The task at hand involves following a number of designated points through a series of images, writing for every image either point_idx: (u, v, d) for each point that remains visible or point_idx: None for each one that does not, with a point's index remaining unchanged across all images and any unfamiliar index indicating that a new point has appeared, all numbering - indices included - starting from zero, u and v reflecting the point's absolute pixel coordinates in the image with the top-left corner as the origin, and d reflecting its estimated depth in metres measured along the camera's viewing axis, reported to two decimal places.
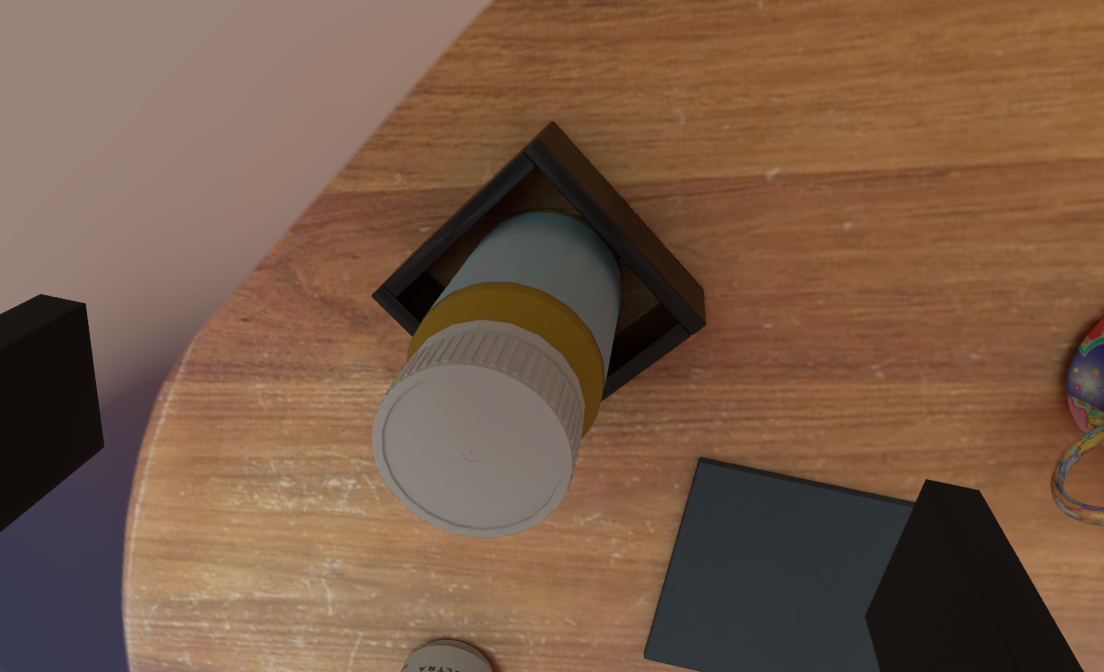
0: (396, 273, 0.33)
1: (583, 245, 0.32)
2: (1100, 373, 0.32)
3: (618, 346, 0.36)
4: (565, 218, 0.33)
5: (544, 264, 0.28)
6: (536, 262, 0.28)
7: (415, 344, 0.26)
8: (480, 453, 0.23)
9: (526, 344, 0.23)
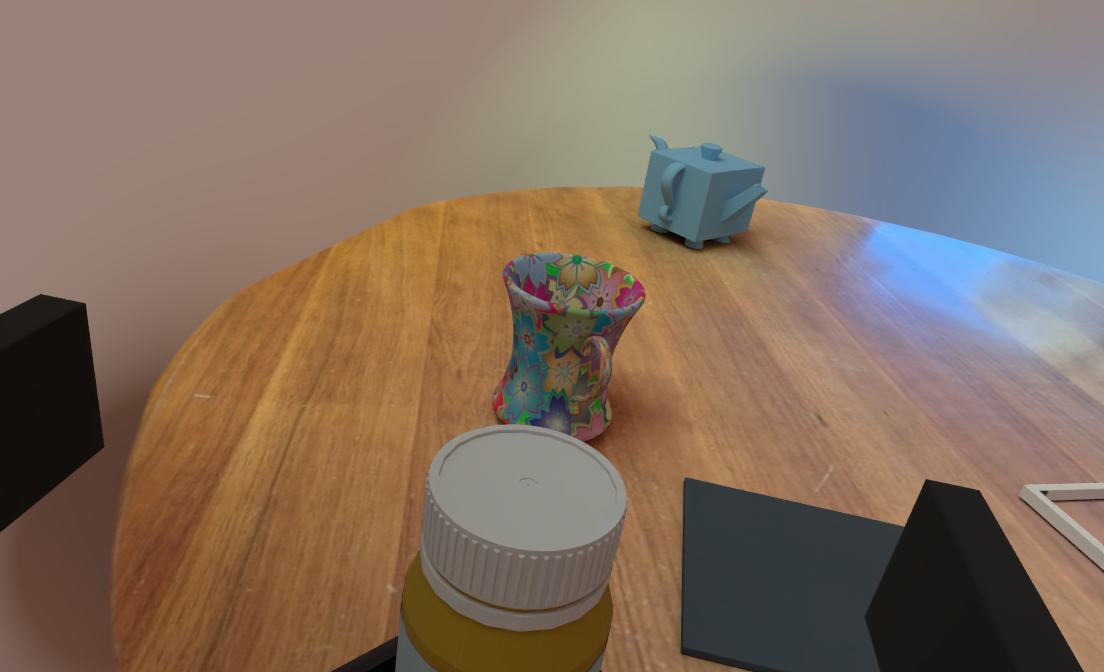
0: None
1: None
2: (548, 418, 0.50)
3: None
4: None
5: None
6: None
7: (453, 639, 0.23)
8: (528, 479, 0.24)
9: None
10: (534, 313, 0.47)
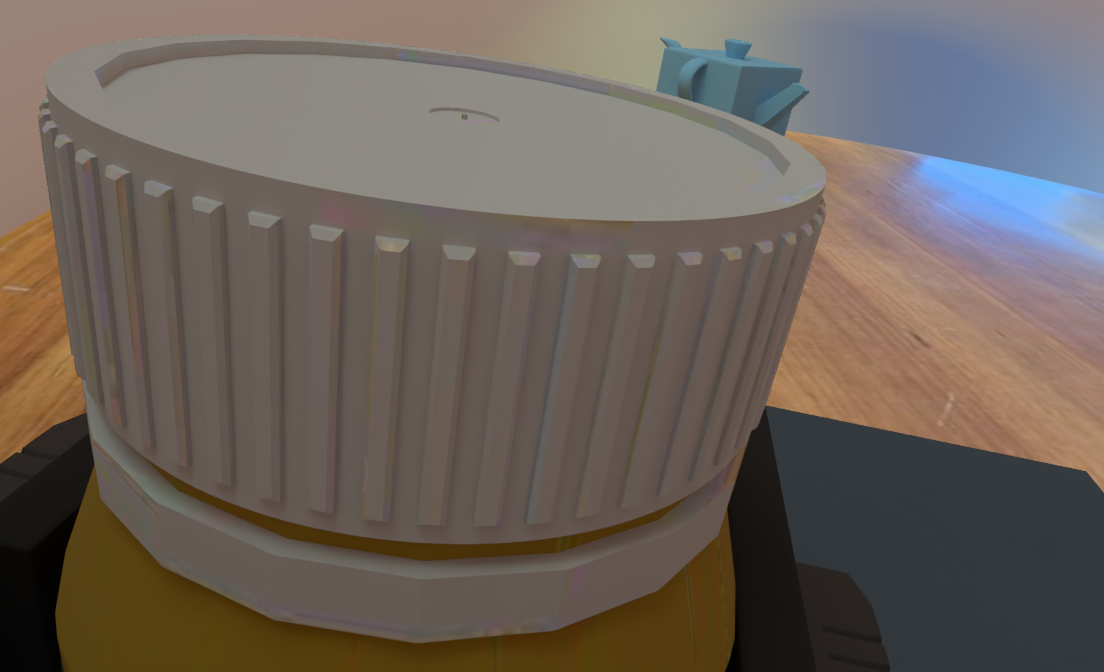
0: None
1: None
2: None
3: None
4: None
5: None
6: None
7: None
8: (466, 110, 0.07)
9: None
10: None
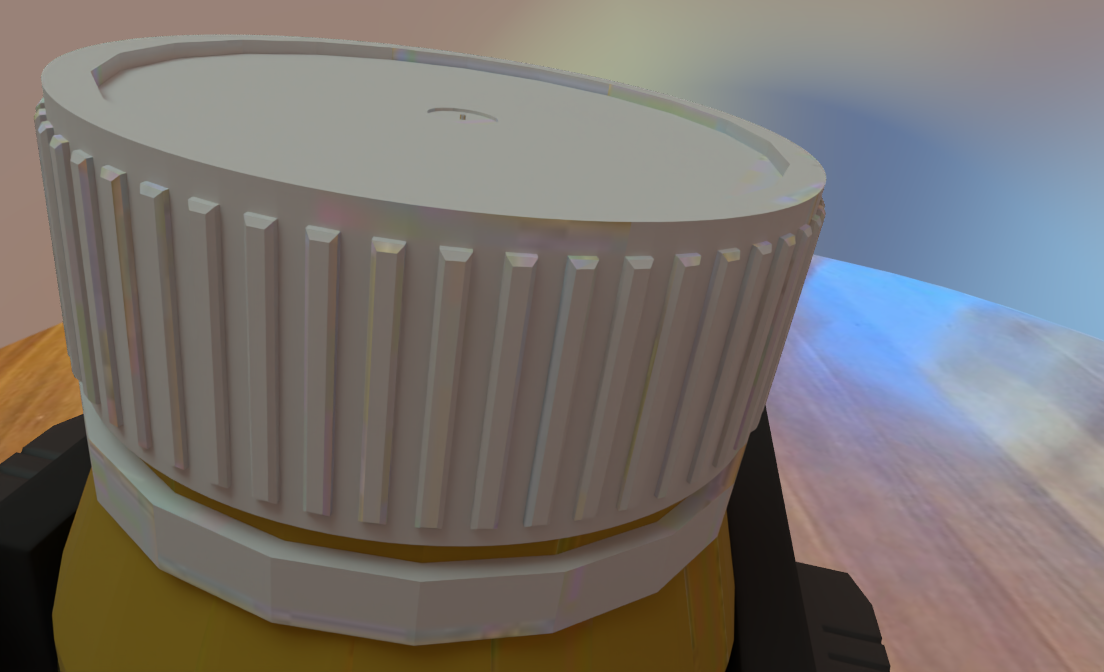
0: None
1: None
2: None
3: None
4: None
5: None
6: None
7: None
8: (464, 111, 0.07)
9: None
10: None
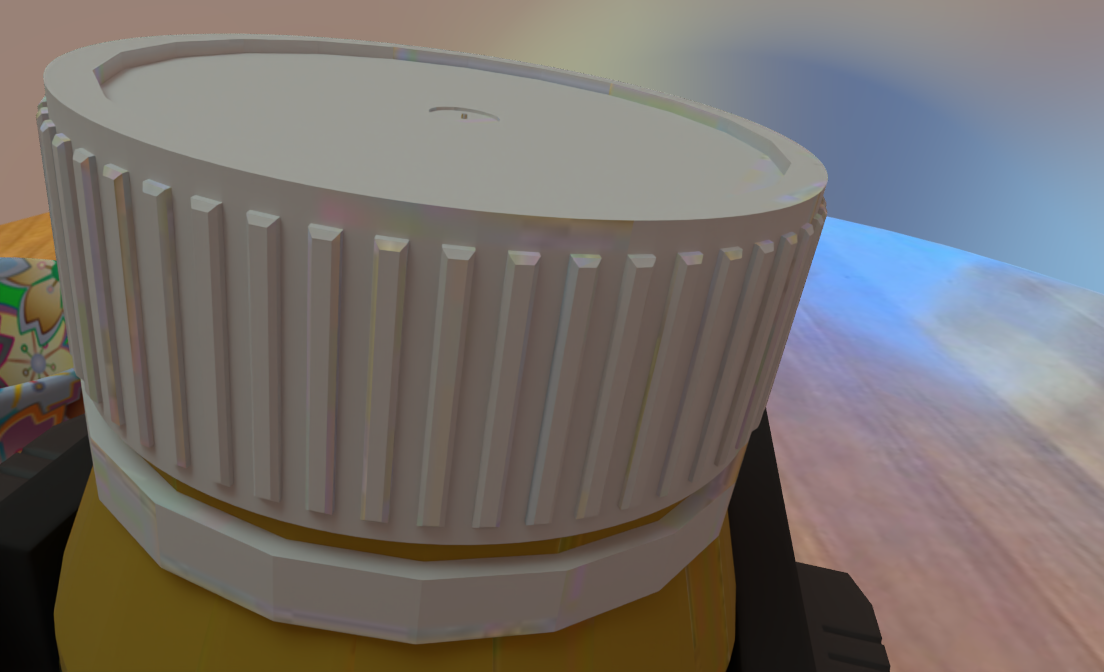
0: None
1: None
2: None
3: None
4: None
5: None
6: None
7: None
8: (466, 110, 0.07)
9: None
10: None
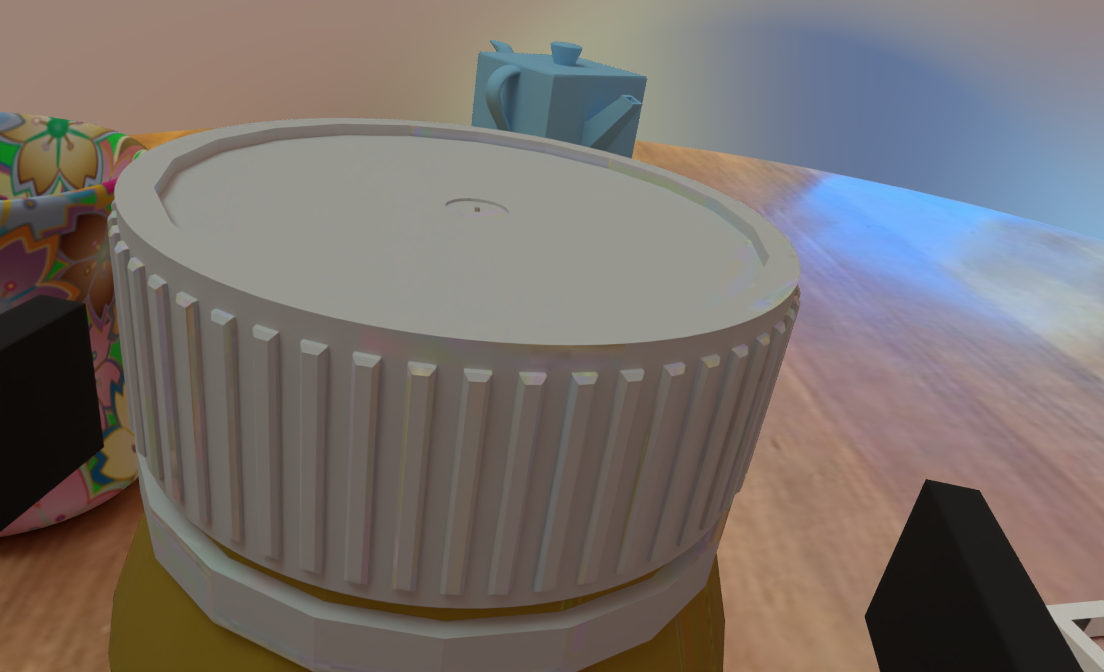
0: None
1: None
2: None
3: None
4: None
5: None
6: None
7: None
8: (478, 200, 0.08)
9: None
10: None
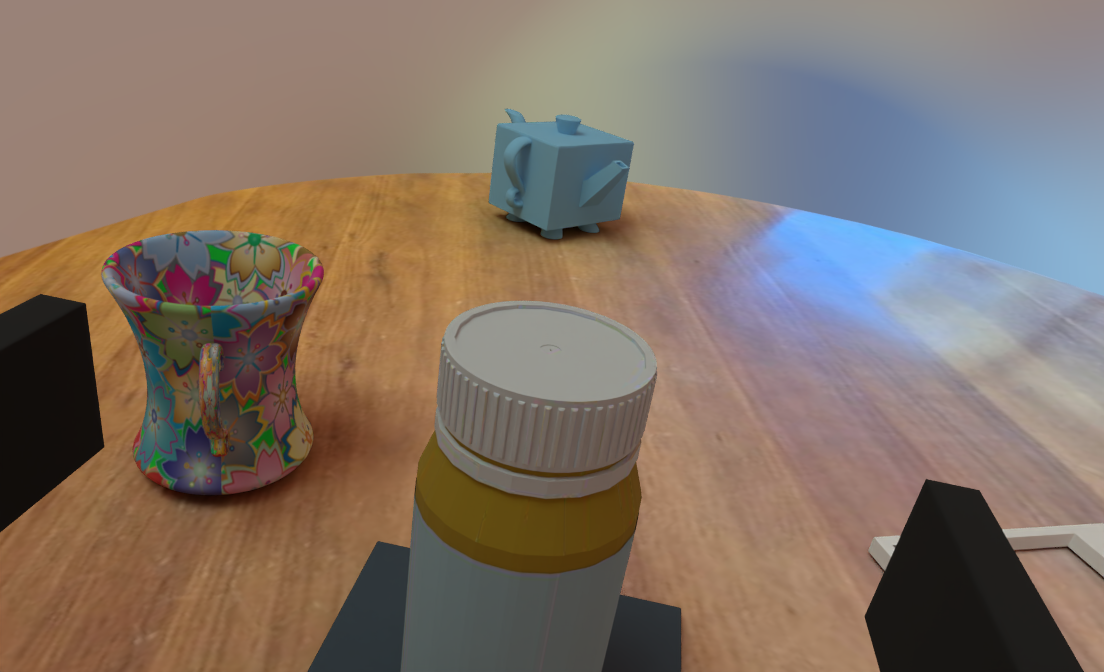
0: None
1: None
2: (186, 461, 0.36)
3: None
4: None
5: None
6: None
7: (473, 511, 0.21)
8: (550, 345, 0.22)
9: None
10: (128, 312, 0.33)
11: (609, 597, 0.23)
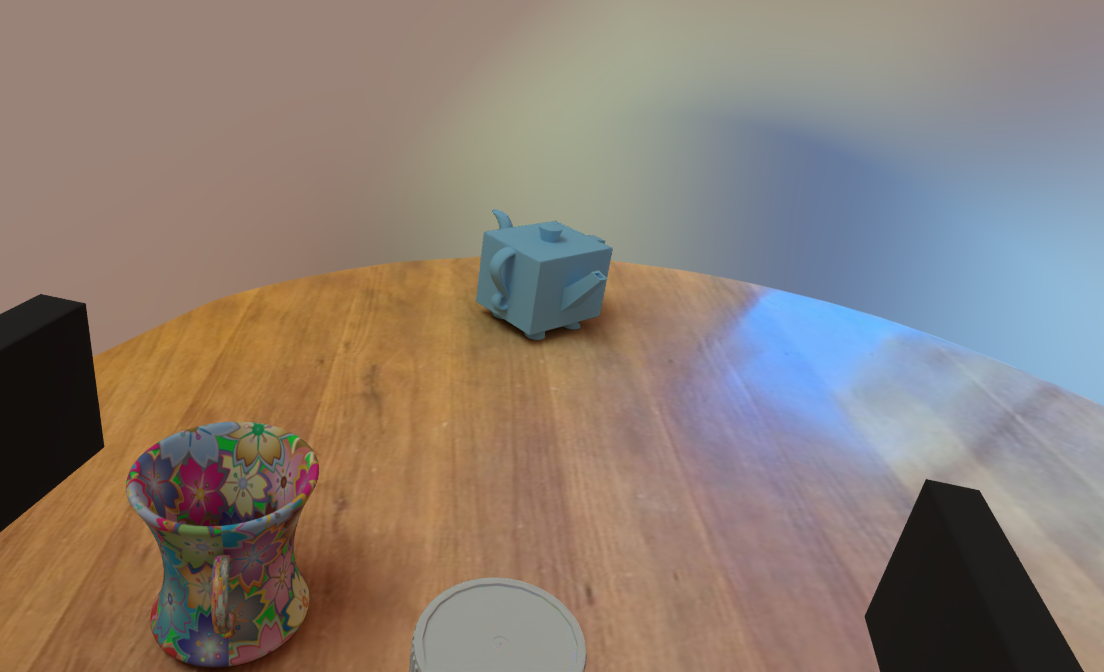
0: None
1: None
2: (198, 639, 0.41)
3: None
4: None
5: None
6: None
7: None
8: (500, 637, 0.28)
9: None
10: (150, 526, 0.38)
11: None
